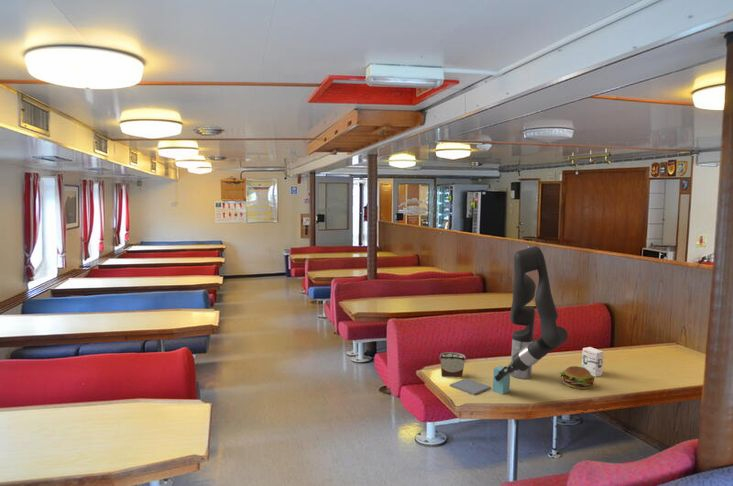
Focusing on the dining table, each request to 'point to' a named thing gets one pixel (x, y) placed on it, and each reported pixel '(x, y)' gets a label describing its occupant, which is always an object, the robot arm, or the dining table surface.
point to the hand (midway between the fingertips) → (499, 377)
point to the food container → (452, 364)
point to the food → (577, 377)
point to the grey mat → (470, 386)
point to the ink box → (592, 360)
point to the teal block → (501, 382)
